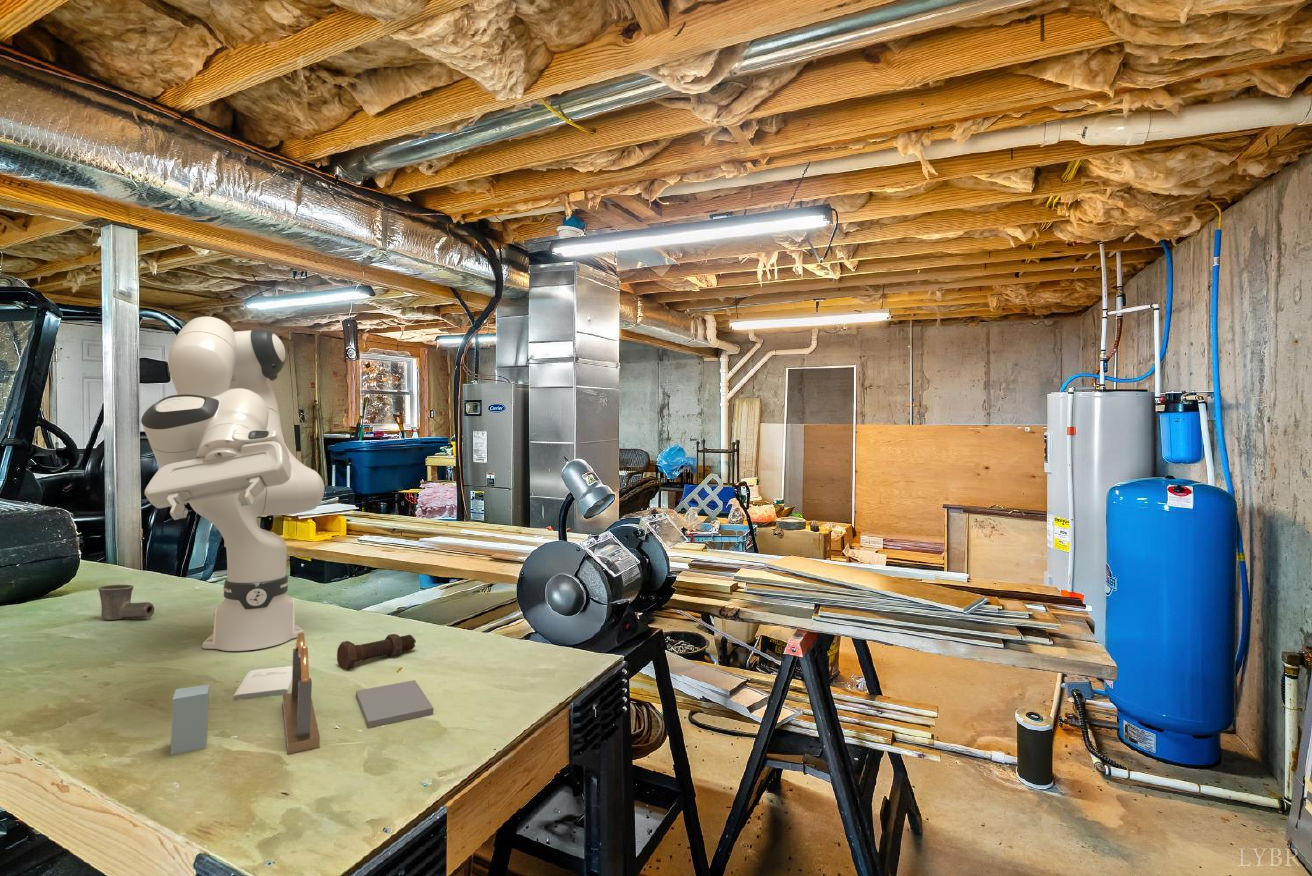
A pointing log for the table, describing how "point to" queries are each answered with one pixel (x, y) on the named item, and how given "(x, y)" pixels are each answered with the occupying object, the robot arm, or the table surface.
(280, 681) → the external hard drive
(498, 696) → the table surface
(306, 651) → the wire frame
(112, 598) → the pipe
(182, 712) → the block
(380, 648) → the bolt
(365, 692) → the pad
